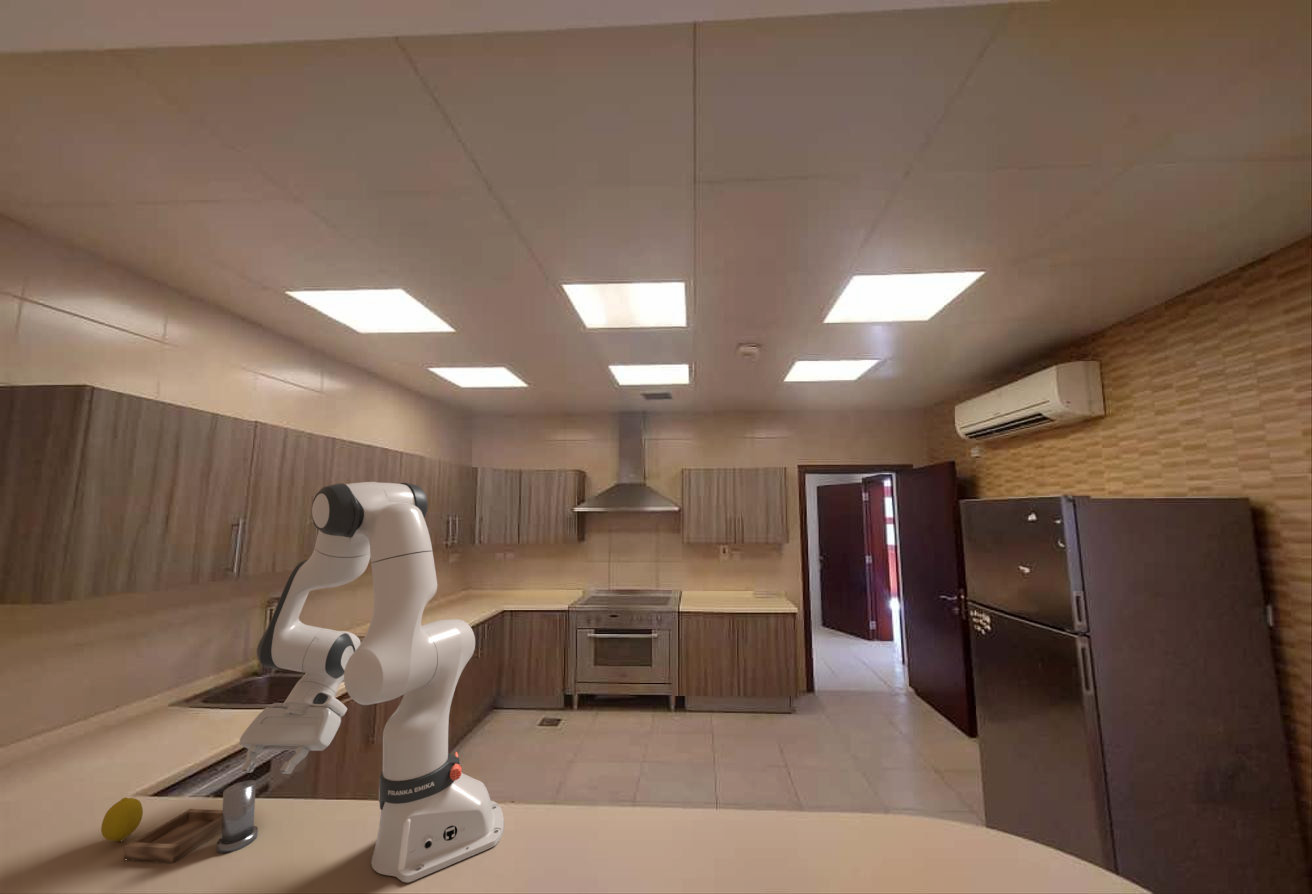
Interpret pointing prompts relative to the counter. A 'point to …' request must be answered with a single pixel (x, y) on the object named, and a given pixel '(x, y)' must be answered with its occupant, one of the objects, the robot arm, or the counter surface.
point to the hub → (238, 817)
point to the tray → (176, 837)
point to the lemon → (122, 819)
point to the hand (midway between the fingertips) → (265, 772)
